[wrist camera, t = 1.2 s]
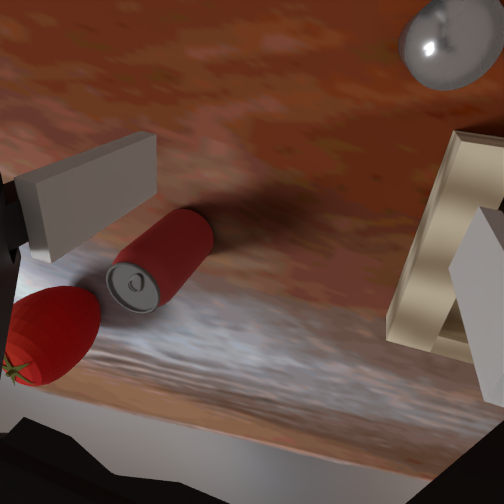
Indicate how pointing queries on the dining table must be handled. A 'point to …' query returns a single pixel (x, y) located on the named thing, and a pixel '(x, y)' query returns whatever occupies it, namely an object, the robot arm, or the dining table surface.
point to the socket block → (445, 247)
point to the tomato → (50, 334)
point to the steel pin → (452, 42)
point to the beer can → (159, 261)
